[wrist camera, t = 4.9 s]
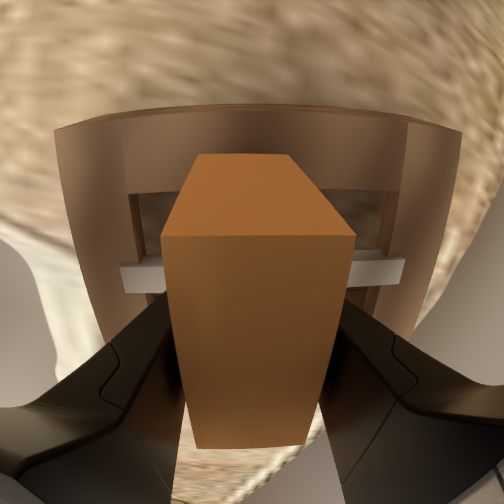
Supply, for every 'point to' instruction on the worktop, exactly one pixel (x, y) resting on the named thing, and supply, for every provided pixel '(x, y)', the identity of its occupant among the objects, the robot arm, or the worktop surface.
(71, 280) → the worktop surface
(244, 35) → the worktop surface
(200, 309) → the orange angular block
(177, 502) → the mug
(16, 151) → the worktop surface
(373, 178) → the shelf
